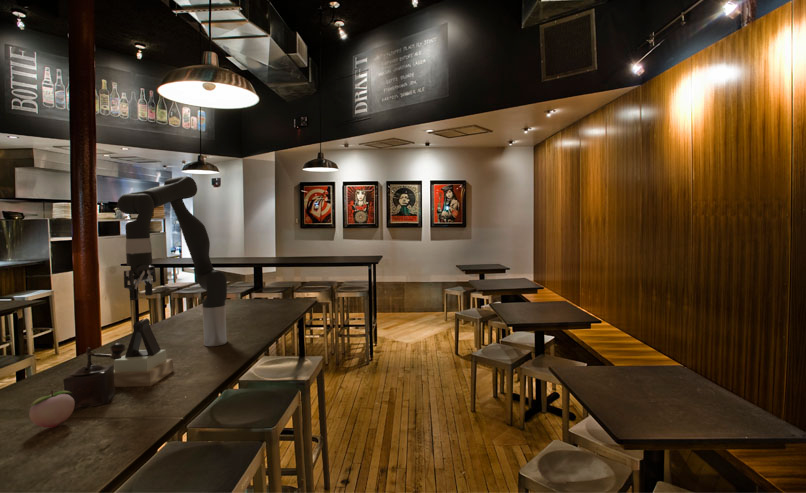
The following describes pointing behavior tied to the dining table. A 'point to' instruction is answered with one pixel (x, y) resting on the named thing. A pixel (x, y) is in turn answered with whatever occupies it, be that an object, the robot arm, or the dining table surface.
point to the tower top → (139, 362)
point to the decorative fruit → (52, 409)
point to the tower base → (143, 375)
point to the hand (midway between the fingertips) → (141, 297)
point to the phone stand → (148, 337)
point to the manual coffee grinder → (93, 380)
